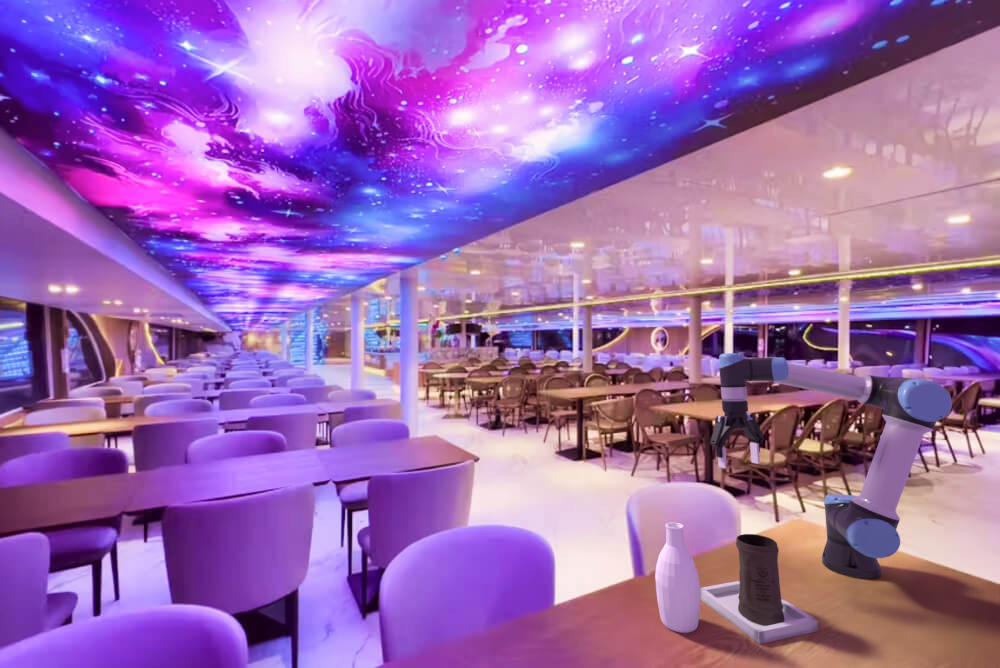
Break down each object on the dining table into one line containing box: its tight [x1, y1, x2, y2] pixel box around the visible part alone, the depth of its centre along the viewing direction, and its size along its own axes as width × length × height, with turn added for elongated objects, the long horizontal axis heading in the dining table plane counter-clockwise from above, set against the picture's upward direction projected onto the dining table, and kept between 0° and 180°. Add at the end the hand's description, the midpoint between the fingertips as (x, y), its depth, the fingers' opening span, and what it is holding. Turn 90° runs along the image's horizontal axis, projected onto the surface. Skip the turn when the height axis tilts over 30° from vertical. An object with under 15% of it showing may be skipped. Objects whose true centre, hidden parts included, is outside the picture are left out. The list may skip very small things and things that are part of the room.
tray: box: [700, 580, 819, 645], centre depth 122 cm, size 18×22×3 cm
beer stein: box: [735, 533, 784, 626], centre depth 122 cm, size 15×11×20 cm
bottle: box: [654, 521, 701, 634], centre depth 119 cm, size 11×11×25 cm
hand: (739, 465), depth 146 cm, fingers open, 13 cm apart
